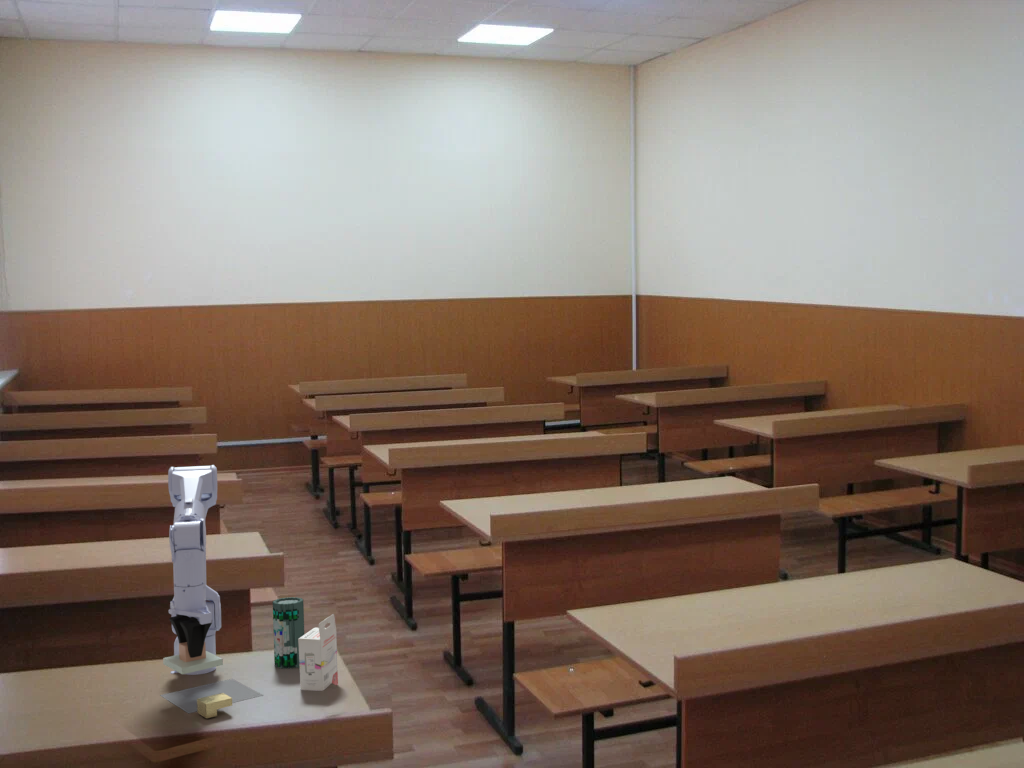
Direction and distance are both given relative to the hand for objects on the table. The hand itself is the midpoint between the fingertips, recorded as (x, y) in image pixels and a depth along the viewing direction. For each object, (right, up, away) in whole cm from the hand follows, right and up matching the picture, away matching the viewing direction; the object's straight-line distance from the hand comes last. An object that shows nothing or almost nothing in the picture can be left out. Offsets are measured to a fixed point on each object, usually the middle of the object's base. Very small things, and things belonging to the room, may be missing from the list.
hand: (191, 654), depth 205 cm
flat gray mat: (+3, -10, +3) cm, 11 cm away
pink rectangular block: (0, -2, 0) cm, 2 cm away
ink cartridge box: (+23, -10, +9) cm, 26 cm away
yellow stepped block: (+7, -9, -8) cm, 14 cm away
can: (+14, -9, +22) cm, 28 cm away
